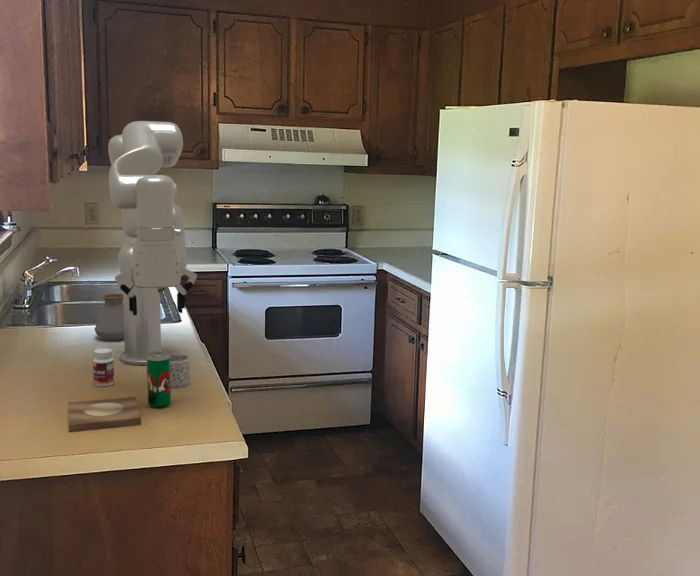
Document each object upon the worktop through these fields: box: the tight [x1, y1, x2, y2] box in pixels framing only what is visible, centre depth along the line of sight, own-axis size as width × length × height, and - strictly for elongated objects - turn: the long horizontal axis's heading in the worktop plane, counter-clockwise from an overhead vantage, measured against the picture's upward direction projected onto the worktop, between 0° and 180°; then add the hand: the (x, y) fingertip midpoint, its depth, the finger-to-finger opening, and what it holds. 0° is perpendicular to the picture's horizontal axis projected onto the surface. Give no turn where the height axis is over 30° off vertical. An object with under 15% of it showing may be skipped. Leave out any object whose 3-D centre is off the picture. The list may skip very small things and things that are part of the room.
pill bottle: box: [92, 347, 115, 388], centre depth 179 cm, size 5×5×8 cm
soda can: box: [146, 350, 172, 409], centre depth 165 cm, size 5×5×12 cm
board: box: [68, 396, 142, 433], centre depth 158 cm, size 14×14×2 cm
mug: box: [168, 353, 191, 389], centre depth 181 cm, size 10×7×7 cm, turn 86°
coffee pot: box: [94, 287, 168, 342], centre depth 223 cm, size 21×12×15 cm, turn 107°
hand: (157, 313), depth 162 cm, fingers open, 9 cm apart
